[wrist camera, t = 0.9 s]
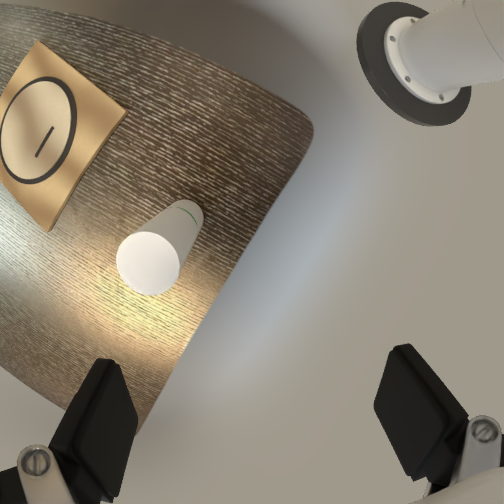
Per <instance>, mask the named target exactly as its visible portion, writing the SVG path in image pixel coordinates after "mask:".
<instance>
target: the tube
mask: <svg viewBox="0 0 504 504" xmlns="http://www.w3.org/2000/svg"><path fill="white" fill-rule="evenodd" d="M203 220H204V218H203V213H202V210H201V208H200V207H199V206H198V205H197V204H196V203H195V202H193V201H190V200H185V199H184V200H179V201H176V202H174V203H173V204H171V205H170V206H169V207H167V208H166V209H164V210H163V211H162V212H160V213H159V214H158V215H156V216H155V217H153V218H152V219H151V220H149V221H148V222H147V223H145V224H144V225H143V226H141V227H140V228H139V229H137V230H136V231H135V232H133V233H132V234H131V235H130V236H128V237H127V238H126V239H125V240H124V241H123V242H122V244H121V245H120V247H119V249H118V252H117V257H116V264H117V269H118V272H119V274H120V276H121V278H122V280H123V281H124V282H125V283H126V284H127V286H129V287H130V288H131V289H132V290H134V291H136V292H138V293H140V294H144V295H159V294H162V293H164V292H166V291H168V290H169V289H170V288H171V287H172V286H173V285H174V284H175V282H176V280H177V278H178V276H179V274H180V272H181V269H182V267H183V265H184V263H185V261H186V259H187V257H188V254H189V252H190V250H191V248H192V246H193V244H194V242H195V240H196V238H197V236H198V233H199V231H200V229H201V227H202V225H203Z"/></svg>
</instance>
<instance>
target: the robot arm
mask: <svg viewBox="0 0 504 504" xmlns="http://www.w3.org/2000/svg"><path fill="white" fill-rule="evenodd" d="M384 50H385V54H386V58H387V61H388V63H389V65H390V68H391V70H392V71H393V73H394V75H395V76H396V78H397V79H398V80H399V82H400V83H401V84H402V85H403V86H404V87H405V88H406V89H407V90H408V91H409V92H410V93H411V94H413V95H414V96H415V97H417V98H419V99H420V100H422V101H424V102H428V103H431V104H442V103H447V102H450V101H451V100H453V99H454V98H455V97H456V96H457V95H458V93H459V91H460V88H461V87H466V86H471V85H476V84H481V83H488V82H493V81H500V80H504V0H452V1H451V2H449V3H447V4H445V5H443V6H442V7H440V8H438V9H437V10H435V11H433V12H431V13H430V14H428V15H426V16H425V17H423V18H421V19H419V18H415V17H402V18H399V19H397V20H395V21H394V22H393V23H392V24H390V25H389V27H388V28H387V30H386V32H385V36H384ZM374 410H375V412H376V415H377V417H378V419H379V420H380V423H381V425H382V427H383V429H384V430H385V432H386V434H387V436H388V439H389V441H390V442H391V445H392V446H393V449H394V451H395V453H396V455H397V457H398V459H399V461H400V463H401V465H402V467H403V469H404V471H405V473H406V475H407V476H411V478H412V480H413V482H414V481H416V480H419V479H421V478H424V477H427V479H428V484H427V487H426V490H425V493H424V496H423V498H422V499H420V500H418V501H415V502H413V503H410V504H504V434H502V432H501V428H500V425H499V423H498V422H497V421H496V420H495V419H493V418H491V417H489V416H484V415H480V416H476V417H474V418H473V419H471V420H470V421H469V420H468V416H469V415H468V414H467V412H466V411H465V410H464V409H463V407H462V406H461V405H460V403H459V402H458V401H457V400H456V398H455V397H454V396H453V394H452V393H451V392H450V391H449V390H448V388H447V387H446V386H445V385H444V383H443V382H442V381H441V380H440V378H439V377H438V376H437V375H436V373H435V372H434V371H433V370H432V369H431V367H430V366H429V365H428V364H427V363H426V361H425V360H424V359H423V358H422V357H421V355H420V354H419V353H418V352H417V351H416V349H414V347H413V346H412V345H411V344H403V345H398V346H395V347H394V348H393V350H392V351H390V352H389V355H388V359H387V362H386V366H385V369H384V372H383V377H382V379H381V382H380V385H379V388H378V392H377V395H376V397H375V400H374ZM137 425H138V415H137V413H136V410H135V408H134V405H133V402H132V400H131V397H130V394H129V391H128V389H127V386H126V383H125V380H124V377H123V374H122V371H121V368H120V365H119V364H116V363H115V361H114V360H112V359H102V358H98V359H96V361H95V362H94V364H93V366H92V368H91V369H90V371H89V373H88V374H87V376H86V378H85V380H84V381H83V383H82V385H81V387H80V389H79V390H78V392H77V393H76V394H75V396H74V398H73V399H72V401H71V403H70V405H69V407H68V409H67V411H66V413H65V414H64V416H63V418H62V420H61V422H60V424H59V426H58V428H57V430H56V432H55V434H54V436H53V438H52V440H51V442H50V444H49V446H48V448H47V447H45V446H43V445H37V444H36V445H30V446H28V447H26V448H25V449H23V450H22V451H21V452H20V454H19V456H18V459H17V466H16V467H13V468H10V469H7V470H4V471H1V472H0V504H100V501H105V502H109V503H113V499H114V497H118V495H119V492H120V488H121V484H122V480H123V476H124V472H125V469H126V465H127V461H128V457H129V453H130V450H131V446H132V443H133V439H134V436H135V432H136V429H137Z"/></svg>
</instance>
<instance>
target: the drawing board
mask: <svg viewBox="0 0 504 504" xmlns="http://www.w3.org/2000/svg"><path fill="white" fill-rule="evenodd" d="M128 113H129V112H128V111H127V110H126V109H125V108H123V107H122V106H121V105H120V104H119V103H117V102H116V101H115V100H114V99H112V98H111V97H110V96H109V95H108V94H106V93H105V92H104V91H103V90H101V89H100V88H99V87H98V86H96V85H95V84H94V83H93V82H91V81H90V80H89V79H88V78H86V77H85V76H84V75H83V74H81V73H80V72H79V71H78V70H76V69H75V68H74V67H73V66H71V65H70V64H69V63H68V62H66V61H65V60H64V59H63V58H61V57H60V56H59V55H57V54H56V53H55V52H54V51H52V50H51V49H50V48H48V47H47V46H46V45H44V44H43V43H42V42H40V41H38V40H37V42H36V43H35V44H34V46H33V47H32V48H31V50H30V51H29V52H28V54H27V55H26V57H25V58H24V60H23V61H22V63H21V64H20V66H19V67H18V69H17V70H16V72H15V73H14V75H13V76H12V78H11V80H10V81H9V83H8V85H7V86H6V88H5V90H4V91H3V93H2V95H1V97H0V181H1V182H2V184H3V185H4V186H5V187H6V188H7V189H8V191H9V192H10V193H11V194H12V195H13V196H14V198H15V199H16V200H17V201H18V202H19V203H20V204H21V206H22V207H23V208H24V209H25V210H26V211H27V212H28V213H29V214H30V215H31V216H32V217H33V219H34V220H35V221H36V222H37V223H38V224H39V225H40V226H41V227H42V228H43V229H44V230H45V231H46V232H47V233H48V232H50V231H51V230H52V228H53V226H54V224H55V222H56V221H57V219H58V217H59V215H60V213H61V211H62V210H63V208H64V206H65V204H66V203H67V201H68V199H69V198H70V196H71V194H72V193H73V191H74V189H75V188H76V186H77V184H78V183H79V181H80V180H81V178H82V176H83V175H84V173H85V172H86V170H87V169H88V167H89V166H90V164H91V163H92V161H93V160H94V158H95V157H96V155H97V154H98V153H99V151H100V150H101V148H102V147H103V146H104V144H105V143H106V141H107V140H108V139H109V137H110V136H111V135H112V133H113V132H114V131H115V129H116V128H117V127H118V126H119V124H120V123H121V122H122V120H123V119H124V118H125V117H126V115H127V114H128Z"/></svg>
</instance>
